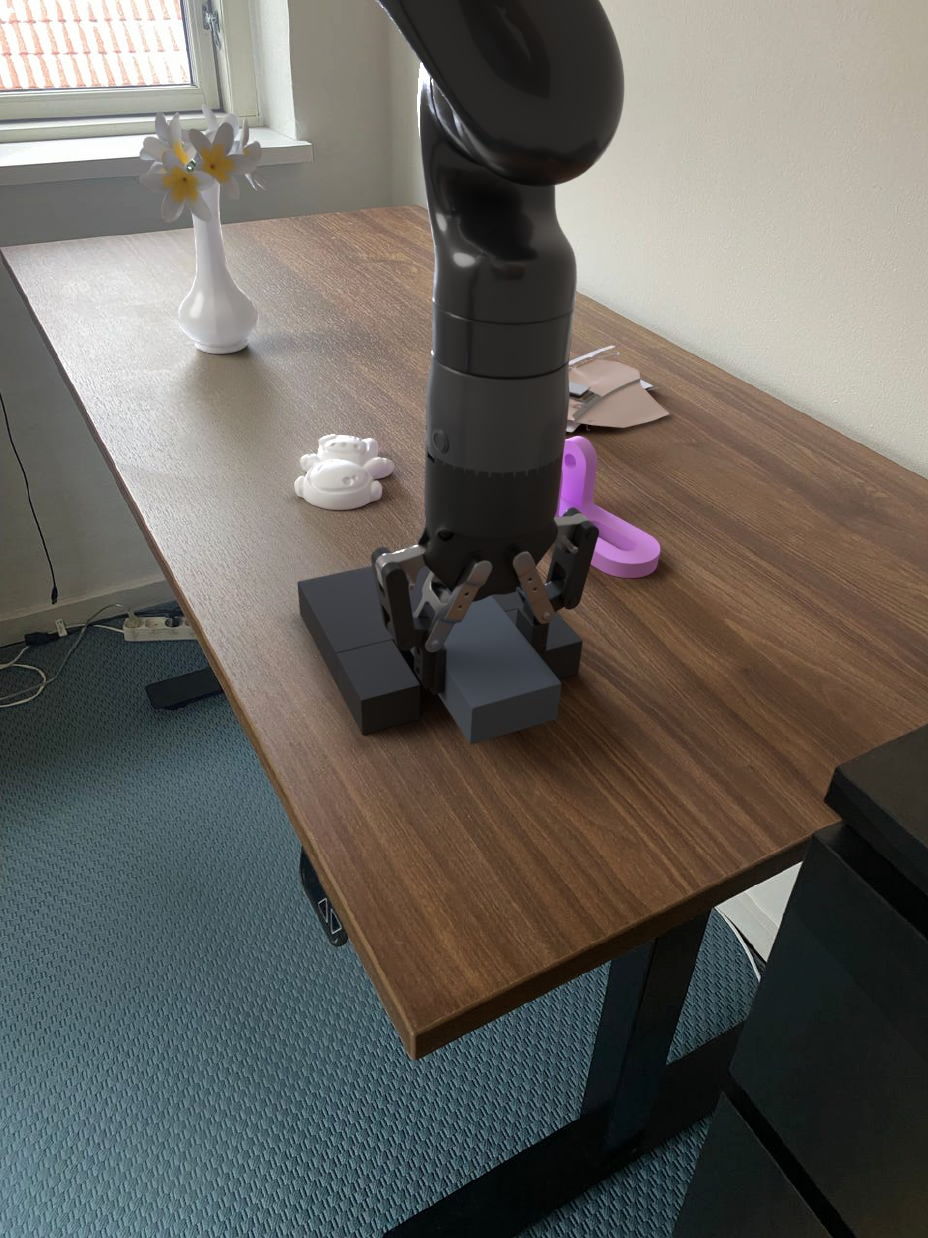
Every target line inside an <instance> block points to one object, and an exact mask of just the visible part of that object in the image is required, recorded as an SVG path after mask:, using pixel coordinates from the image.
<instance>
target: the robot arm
mask: <svg viewBox="0 0 928 1238" xmlns="http://www.w3.org/2000/svg"><path fill="white" fill-rule="evenodd" d="M374 1H375V2H376V4H378V5H379V6H380V7H381V8H382V9H383V10H384V12H385V13H386V14H387V16H388V17H389V18H390V19H391V21H392V22H393V24H394V25H395V27H396V28H397V30H398V31H399V32H400V34H401V36H402V37H403V39H404V40H405V42H406V43H407V45H408V46H409V48H410V49H411V51H413V54H414V55H415V56H416V58H417V59H418V61H419V62H420V68H419V75H418V76H419V78H418V87H417V89H418V90H417V91H418V93H417V118H418V135H419V146H420V155H421V156H420V157H421V163H422V164H421V165H422V171H423V180H424V190H425V198H426V205H427V213H428V218H429V224H430V230H431V231H430V232H431V236H432V243H433V251H434V273H433V281H432V283H433V284H432V309H431V310H432V313H431V314H432V316H431V317H432V318H431V352H430V353H431V355H430V365H429V371H428V376H427V382H426V383H427V384H426V394H425V435H424V437H425V439H424V495H423V496H424V497H423V498H424V499H423V500H424V502H423V503H424V515H425V516H424V517H425V518H424V519H425V523H424V527H423V530H422V532H421V534H420V535H419V537H418V539H417V543H416V545H412V546H410V547H407V548H404V549H401V550H398V551H395V552H391V550H390V549H389V548H388V547H387V546H380V547H378V548H375V549H374V550H373V552H371V555H370V561H371V566H372V567H373V572H374V578H375V583H376V588H377V594H378V599H379V604H380V609H381V615H382V620H383V624H384V626H385V628H386V629H387V630H388V631H389V632H390V634H391V636H392V637H393V639H394V640H395V644H396V645H397V647H398V648H399V650H401V651H408V650H410V649H412V648H413V647H414V667H413V670H414V673H415V674H416V676H417V678H418V679H419V681H420V683H421V685H422V686H423V687H424V689H425V690H426V689H427V690H428V689H429V691H430V692H431V694H432V695H433V696H435V695H438V694H439V693H443V692H444V691H445V669H446V659H447V649H446V647H445V646H444V643H445V641H446V639H447V637H448V635H449V633H450V631H451V630H452V628H453V626H454V624H455V623H460V622H461V621H462V620H463V618H464V616H465V614H466V612H467V611H468V609H469V607H470V605H471V603H472V602H475V601H480V600H482V599H484V598H487V597H489V596H491V595H505V594H509V593H513V592H517V594H518V596H519V598H520V600H521V602H522V603H523V606H522V607H518V608H517V619H516V627H517V628H518V630H519V631H520V632H521V633H522V635H523V636H524V637H525V638H526V640H527V641H528V642H529V643H530V645H531V646H532V647H533V648H534V649H535V651H536V652H537V653H538V654H539V656H540V657H541V658H542V657H543V656H544V654H545V652H546V647H547V638H548V630H549V622H550V621H551V620H552V619H553V618H554V615H555V612H558V611H560V610H562V609H563V608H564V609H566V610H568V611H569V610H573V609H575V608H576V607H578V605H579V604H580V603H581V600H582V597H583V593H584V589H585V585H586V582H587V580H588V579H587V578H588V575H589V571H590V567H591V561H592V557H593V554H594V550H595V546H596V543H597V539H598V537H599V529H598V528H597V527H596V526H595V525H594V524H593V523H592V522H591V521H589V520H588V519H587V518H586V517H585V516H584V515H583V514H582V513H581V512H580V511H579V510H578V509H577V508H574V507H572V508H569V509H567V510H566V511H565V512H564V514H563V516H562V517H555V515H556V512H557V507H558V498H559V489H560V480H561V471H562V462H563V453H564V445H565V440H566V434H567V431H566V428H567V422H568V420H567V418H568V409H569V367H570V365H569V361H570V355H571V347H572V338H573V329H574V319H575V312H576V311H575V310H576V303H577V302H576V300H577V288H578V265H577V257H576V254H575V251H574V249H573V246H572V245H571V243H570V241H569V239H568V237H567V236H566V234H565V232H564V231H563V229H562V227H561V226H560V222H559V219H558V215H557V208H556V186H560V185H562V184H565V183H568V182H572V181H573V180H575V179H577V178H579V177H580V176H582V175H584V174H585V173H586V172H587V171H589V170H590V169H591V168H592V167H593V166H595V164H596V163H597V162H599V161H600V160H601V158H602V157H603V156H604V154H606V152H607V150H608V148H609V147H610V146H611V144H612V142H613V141H614V140H613V139H614V137H615V136H616V134H617V131H618V128H619V125H620V122H621V120H622V119H621V118H622V113H623V109H624V104H625V103H624V102H625V72H624V64H623V58H622V54H621V49H620V47H619V42H618V40H617V37H616V33H615V30H614V28H613V25H612V23H611V21H610V19H609V17H608V15H607V11H606V10H605V8H604V7H603V5H602V3H601V1H600V0H374ZM553 544H554V548H553V552H552V556H551V560H550V564H549V567H548V573H547V576H546V579H545V584H544V582H543V580H542V578H541V575H540V573H539V571H538V569H537V566H538V565H539V563H541V561H542V560H543V558H544V557H545V555H546V554H547V552H548V551H549V550H550V549H551V548H552V546H553ZM424 566H427V567H428V568H429V569H430V570H431V571H430V573H429V575H428V577H427V579H426V581H425V583H424V585H423V588H422V595H423V596H422V600H421V602H420V604H419V606H418V608H417V610H416V612H415V614H414V616H413V614H412V608H411V602H410V596H409V591H412V590H414V589H415V582H416V579H417V573H418V571H419V570H420V569H421V568H422V567H424ZM447 588H448V589H449V590H450V591H451V593H452V594H451V596H450V595H449V594H448V592H447Z"/></svg>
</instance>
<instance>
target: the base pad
mask: <svg viewBox="0 0 928 1238" xmlns="http://www.w3.org/2000/svg"><path fill="white" fill-rule="evenodd" d="M430 571H431V570H430V569H429V568H428V567H427V566H424V567H422V568H421V569H420V570H419V571H418V573H417V579H416V582H415V589H414V590H412V591H409V596H410V602H411V608H412V613H413V612H416V610H417V608H418V606H419V604H420V602H421V600H422V596H423V595H422V588H423V585H424V583H425V581H426V579H427V577H428V575H429V573H430ZM296 584H297V585H296V586H297V594H298V606H299V607H298V608H299V615H300V617H301V619H302V621H303V622H304V624H305V626H306V629H307V630H308V631H309V632H308V633H309V634H310V636H311V638H312V640H313V642H314V644H315V646H316V648H317V649H318V651H319V654H320V656H321V657H322V659H323V661H324V663H325V665H326V667H327V669H328V671H329V673H330V675H331V677H332V679H333V680H334V683H335V684H336V686H337V689H338V691H339V692H340V694H341V697H342V699H343V700H344V702H345V705H346V706H347V708H348V710H349V712H350V714H351V715H352V718H353V719H354V721H355V724H356V725H357V728H358V729H359V731H360V733H361V735H362V736H364V735H365V736H366V735H368V734H372V733H376V732H379V731H383V730H386V729H389V728H393V727H397V726H400V725H403V724H407V723H411V722H414V721H417V720H420V719H421V684H420V682H419V681H418V679H417V677H416V675H415V674H414V672H413V671H412V669H414V656H413V654H412V653H411V651H410V650H408V651H401V650H399V648H398V647H397V645H396V644H395V640H394V639H393V637H392V636H391V634H390V632H389V631H388V630H387V629H386V628H385V626H384V624H383V620H382V615H381V609H380V604H379V599H378V594H377V588H376V583H375V578H374V572H373V567H372V565H369V566H364V567H359V568H355V569H351V570H345V571H341V572H336V573H331V574H327V575H322V576H318V577H313V578H308V579H304V580H299V581H297V582H296ZM447 592H448V594H449V595H450V596H451V594H452V593H451V591H450V590H449V589H448V588H447ZM491 596H492V597H493V598H494V600H495V601H496V602H497V603H498V605H499V606H500V607H501V608H502V610H503V611H504V612H505V613H506V615H507V616H508V617H509V618H510V620H511V621H512V622H513V623H514V625H515V626H516V619H517V608H518V607H522V606H523V603H522V602H521V600H520V598H519V596H518V594H517V592H513V593H509V594H505V595H491ZM583 642H584V640H582V638H581V637H580V636H579V635H578V634H577V633H576V631H575V630H574V629H573V628H572V627H571V626H570V625H569V623H568V622H567V621H566V620H565V619H564V617H562V616H561V614H560V613H559V612H558V611H557V612H555V615H554V618H553V619H552V620H551V621H550V622H549V630H548V638H547V647H546V652H545V654H544V656H543V657H542V659H543V661H544V662H545V663H546V664H547V666H548V667H549V668H550V669H551V671H552V672H553V673H554V674H555V676H556V677H557V678H558V679H559V680H563V679H565V678H570V677H572V676H575V675H576V676H577V675H579V672H580V671H579V670H580V664H581V657H582V651H583V650H582V649H583V645H584V644H583Z"/></svg>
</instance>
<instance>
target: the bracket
mask: <svg viewBox="0 0 928 1238" xmlns="http://www.w3.org/2000/svg"><path fill="white" fill-rule="evenodd" d="M597 469H598V456H597V452H596V449H595V447H594V446H593V444H592V443H591V442H590V440H588V439H587V438H585V437H584V436H581V435H576V436H573V437H570V438H568V439H567V438H566V439H565V445H564V453H563V462H562V471H561V480H560V489H559V498H558V507H557V512H556V515H555V517H562V516H563V514H564V512H565V511H566V510H567V509H569V508H572V507H574V508H577V509H578V510H579V511H580V512H581V513H582V514H583V515H584V516H585V517H586V518H587V519H588V520H589V521H591V522H592V523H593V524H594V525H595V526H596V527H597V528H598V529H599V536H598V539H597V543H596V546H595V550H594V554H593V557H592V561H591V564H590V566H593V567H594V568H596V569H598V570H600V572H603V573H604V574H606V575H609V576H613V577H615V578H616V577H617V578H623V579H638V578H643V577H647V576H649V575H651V574H653V573H654V572H655V571H656V570H657V568H658V564H659V560H660V554H661V545H660V543H659V541H658V540H657V539H656V538H655V537H654V536H652V535H651V534H649V533H647V532H646V531H644V530H642V529H640V528H639V527H637V526H634V525H633V524H631V523H630V522H627V521H625V520H623V519H622V518H620V517H619V516H617V515H614V514H613V513H611V512H609V511H608V510H606V509H604V508H602V507H600V506H598V505H596V504H595V502H594V492H595V485H596V477H597Z"/></svg>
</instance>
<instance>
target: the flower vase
mask: <svg viewBox="0 0 928 1238" xmlns="http://www.w3.org/2000/svg"><path fill="white" fill-rule="evenodd" d="M201 111H202V113H203V117H204V119H205V122H206V125H207V129H205V133H204V132H202V131H201V130H199V129H198V128H190V129H185V128H182V126H181V122H180V113H179V112H178V111H177V112H176V113H175V114H174V115H173V117H172V119H171V120H170V121H169V123H168V120H167V118H166V116H165V114H164V112H162V111H160V110H159V111H158V112H157V113H156V115H155V118H154V129H155V130H154V131H155V133H156V136H157V137H155V136H146V137H145V138H144V139H143V141H142V148H141V149H140V151H139V159H140V160H142V161H153V160H154V162H153V163H152V165H151V166H150V168H149V170H148V171H147V173H144V174H141V175H139V177H138V183H139V184H140V185H141V187H143V188H144V189H146V190H148V191H150V192H153V193H158V194H161V193H162V194H163V193H165V195H164V198H163V199H162V202H161V206H160V207H161V208H160V215H161V218H162V219H163V221H164V222H166V223H169V224H171V223H174V222H175V221H177V220H178V219H179V218H180V217H181V215H182V213H183V211H184V208H185V206H187V208H188V210H189V211H190V213H191V216H192V223H193V233H194V243H195V244H194V245H195V254H196V270H195V277H194V280H193V284H192V287H191V289H190V291H189V292H188V293H187V295H185V297H184V298H183V300H182V302H181V304H180V305H179V308H178V313H177V321H178V325H179V327H180V329H181V330H182V331H183V332H184V334H186V336H187V337H188V338H190V339H191V340H193V341H194V344H195V347H196V348H197V349H198V350H199V351H201V352H204V353H207V354H214V355H225V354H233V353H237V352H240V351H242V350H243V349H245V348H246V347H247V346H248V344H249V339H248V338H249V337H250V336H252V335H253V334H254V332H255V330H256V329H257V327H258V325H259V322H260V316H259V312H258V309H257V307H256V305H255V303H254V301H253V300H252V299H251V298H250V297H249V295H247V294H246V293H245V292H244V291H243V290H242V289H240V287H239V286H238V285H237V283H236V282H235V279H234V277H233V275H232V274H231V271H230V268H229V264H228V261H227V257H226V251H225V245H224V238H223V232H222V225H221V217H220V216H221V215H220V193H221V189H222V191H223V192H224V193H225V194H226V196H228V198H230V199H231V200H233V201H238V200H239V199H240V197H241V189H240V186H239V182H238V181H237V179H236V178H235V176H233V175H244V176H245V177H246V178H247V180H248V181H249V183H250V184H251V186H252V187H253V189H254V190H255V191H256V192H258V191H259V188H258V186H259V187H260V188H261V189H262V190H264V191H265V192H267V191H268V186H267V183H266V180H265V178H264V176H263V174H262V172H261V170H259V168H258V165H257V163H258V162H259V161H260V160H261V158H262V154H263V153H262V151H263V150H262V145H261V144H260V142H259V141H257V140H253V141H251V142H249V140H250V127H249V122H248V118H247V117H246V116H244V117H243V122H242V127H241V133H240V137H239V140H235V139H236V137H237V136H238V134H239V131H240V122H239V118H238V117H237V116H236V114H234V113H230V112H229V113H227V114H225V115H224V116H223V118H222V120H221V122H220V123H219V122H218V118H217V117H216V115H215V113H214V112H213V110H212V109H211V107H209V105H207V104H206V103H202V104H201ZM195 160H197V162H196V161H195ZM189 164H190V165H189Z"/></svg>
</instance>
